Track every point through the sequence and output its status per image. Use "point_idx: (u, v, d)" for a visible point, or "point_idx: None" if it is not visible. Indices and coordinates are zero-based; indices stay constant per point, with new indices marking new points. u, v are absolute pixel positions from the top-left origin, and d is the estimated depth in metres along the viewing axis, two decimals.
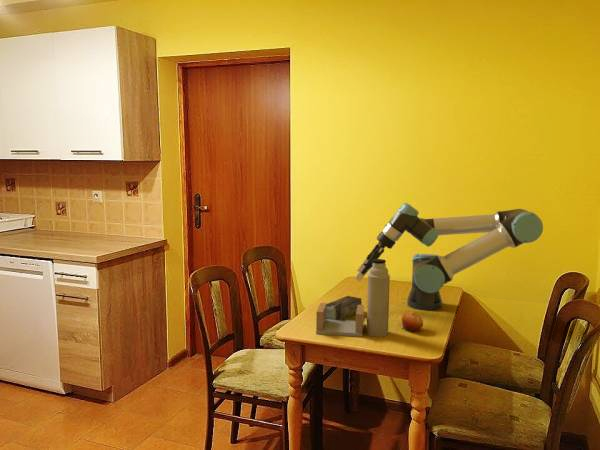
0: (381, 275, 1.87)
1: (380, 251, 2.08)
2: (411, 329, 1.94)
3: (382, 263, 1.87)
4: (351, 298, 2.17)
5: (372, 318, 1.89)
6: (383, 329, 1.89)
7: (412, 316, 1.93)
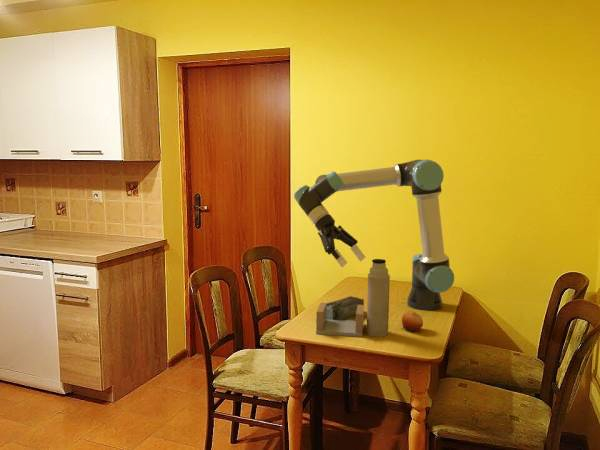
0: (381, 275, 1.87)
1: (321, 233, 1.95)
2: (411, 329, 1.94)
3: (382, 263, 1.87)
4: (353, 299, 2.16)
5: (372, 318, 1.89)
6: (383, 329, 1.89)
7: (412, 316, 1.93)
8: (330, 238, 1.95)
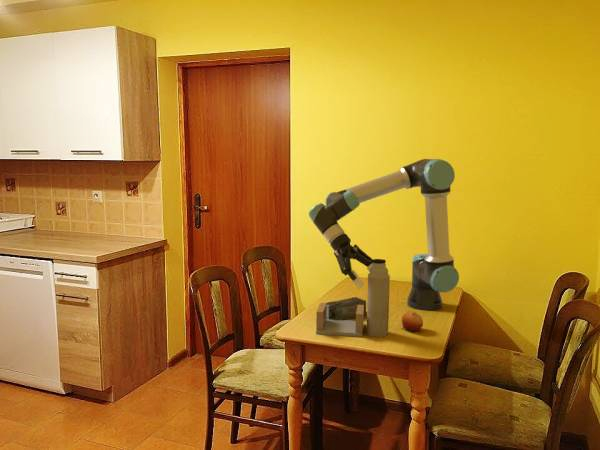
0: (381, 275, 1.87)
1: (337, 253, 1.90)
2: (411, 329, 1.94)
3: (382, 263, 1.87)
4: (355, 299, 2.15)
5: (372, 318, 1.89)
6: (383, 329, 1.89)
7: (412, 316, 1.93)
8: (346, 258, 1.91)
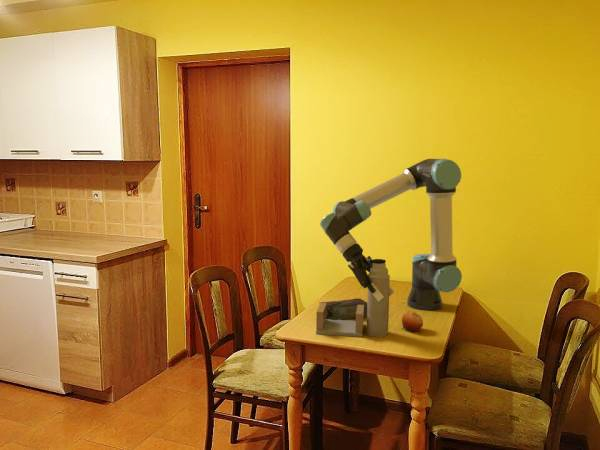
0: (381, 275, 1.86)
1: (352, 266, 1.88)
2: (411, 329, 1.94)
3: (382, 263, 1.87)
4: (356, 301, 2.13)
5: (372, 318, 1.89)
6: (383, 329, 1.89)
7: (412, 316, 1.93)
8: (362, 270, 1.90)
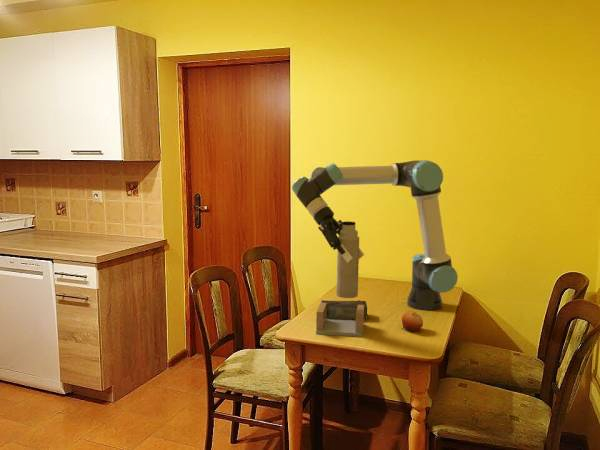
0: (350, 237, 1.88)
1: (322, 227, 1.90)
2: (411, 329, 1.94)
3: (352, 225, 1.88)
4: (357, 302, 2.11)
5: (341, 280, 1.90)
6: (352, 291, 1.90)
7: (412, 316, 1.93)
8: (332, 232, 1.91)
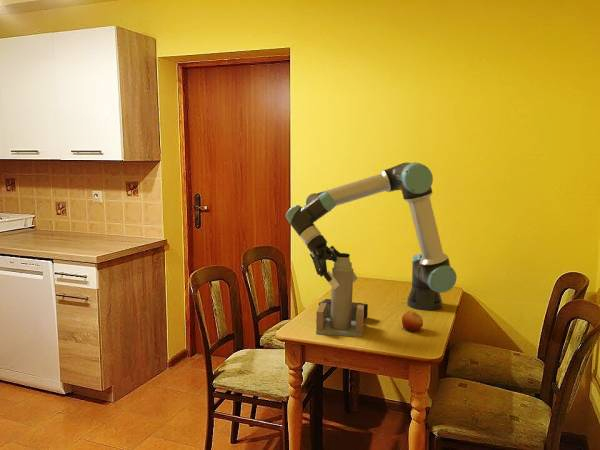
0: (344, 269, 1.91)
1: (313, 254, 1.92)
2: (411, 329, 1.94)
3: (346, 257, 1.91)
4: (355, 304, 2.08)
5: (335, 311, 1.93)
6: (345, 322, 1.93)
7: (412, 316, 1.93)
8: (322, 259, 1.93)
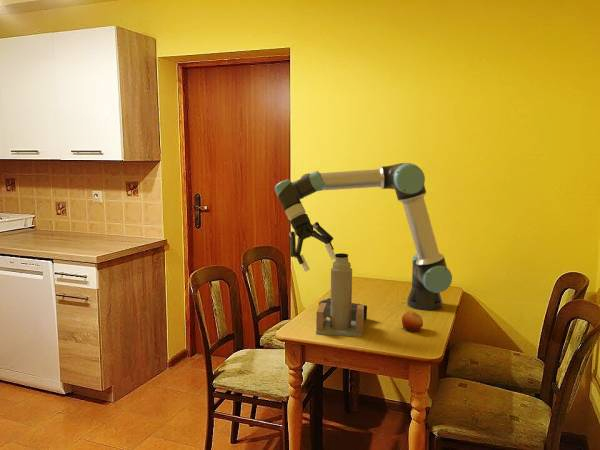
0: (343, 269, 1.91)
1: (291, 235, 2.02)
2: (411, 329, 1.94)
3: (344, 257, 1.91)
4: (353, 305, 2.07)
5: (335, 311, 1.93)
6: (345, 322, 1.93)
7: (412, 316, 1.93)
8: (299, 241, 2.02)
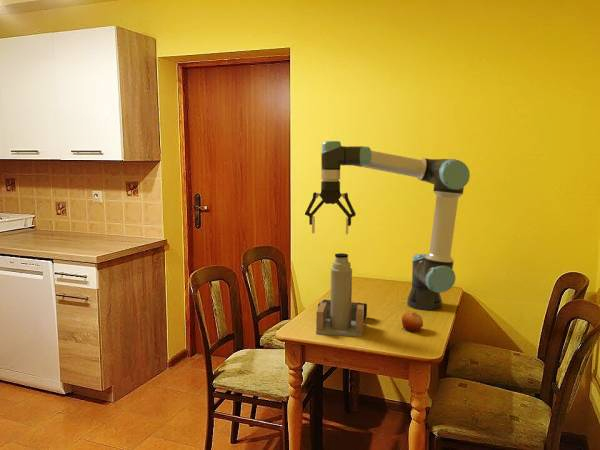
0: (343, 269, 1.91)
1: (313, 195, 2.06)
2: (411, 329, 1.94)
3: (344, 257, 1.91)
4: (355, 304, 2.08)
5: (335, 311, 1.93)
6: (345, 322, 1.93)
7: (412, 316, 1.93)
8: (318, 204, 2.05)
